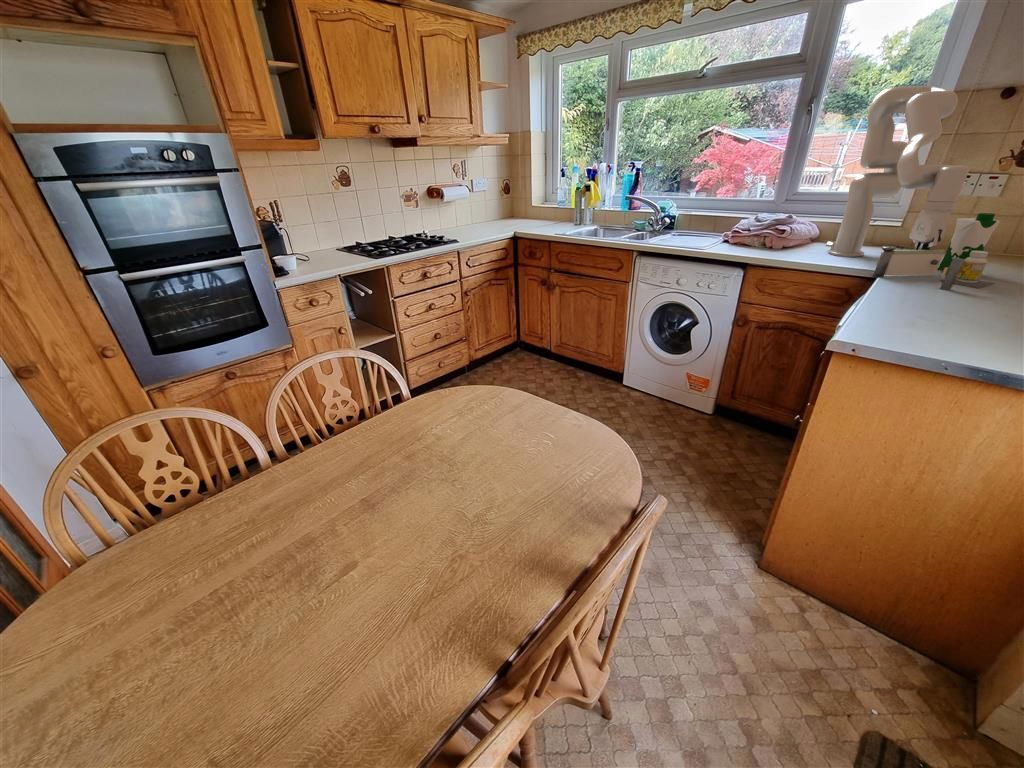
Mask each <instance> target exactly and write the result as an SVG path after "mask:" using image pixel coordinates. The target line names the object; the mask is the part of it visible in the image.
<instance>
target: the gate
mask: <svg viewBox="0 0 1024 768" xmlns="http://www.w3.org/2000/svg"><path fill="white" fill-rule="evenodd" d="M946 251H947V250H946V249H930V250H914V249H895V250H894V251H893V253H892V256H891V259H890V261H889V264H888V267H887V269H886V272H885V275H884V276H935V275H936V273H937V271H938V270H937V269H938V267H939V265H940V263H941V261H942V260H943V258H944V256H945V254H946Z"/></svg>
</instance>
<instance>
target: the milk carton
mask: <svg viewBox="0 0 1024 768" xmlns="http://www.w3.org/2000/svg"><path fill="white" fill-rule="evenodd" d="M995 216H996V214H995V213H990V212H989V213H988V212H979V213H978V214H977V216H976V217H971V218H970V217H969V218H968V217H967V218H956V224H955V229H954V233H953V236H952V238H951V240H950V243H949V245H948V247H947V250H946V251H945V253H944V255H943V257H942V259H941V262H940V264H939V266H938V269H937V271H940V272H942V273H943V271H944V268H946V267H948V268H949V267H950V264H951V262H952V260H953V259H954V258H960V259H964V260H965V259H966V258H968V257H970V253H971V251H985V249H986V246H987V245H988V242H989V241H990V238H991V236H992V234H993V232H994V231H995V230H996V228H997V227H998V225H999V224H1000V223H1001V220H998V219H997V220H996V219H994V218H995ZM963 262H964V261H963ZM961 267H962V266H961ZM960 269H961V268H960ZM959 271H960V270H959ZM958 273H959V272H958Z"/></svg>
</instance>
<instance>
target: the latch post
mask: <svg viewBox="0 0 1024 768" xmlns="http://www.w3.org/2000/svg"><path fill="white" fill-rule="evenodd" d="M963 261H964V259H960V258H954V259H953V260H952V262H951V264H950V267H949V268H948V267H946V268H944V271H943V272H942V273H941V276H944V279H942V280H943V282H942V283H941V285H940V288H939V289H940V290H945V291H950V290H952V287H953V285H954V284H953V283H954V281H955V279H956V277H957V275H958V272H959V270H960V268H961V266H962V264H963Z"/></svg>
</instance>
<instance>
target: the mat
mask: <svg viewBox="0 0 1024 768" xmlns="http://www.w3.org/2000/svg"><path fill="white" fill-rule="evenodd" d="M956 278H957V277H956ZM943 280H944V279H941V280H940V282H943ZM957 284H958V285H957ZM995 284H996V282H991V281H986V280H981V279H979V280H978V282H977V283H964V282H959V281H957V280H956V279H955V281H954V283H953V285H957V286H964V287H968V288H973V289H974V288H975V289H980V288H984V287H989V286H992V285H995Z"/></svg>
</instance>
